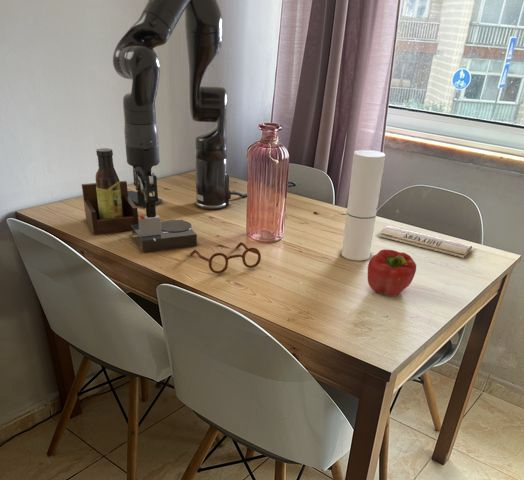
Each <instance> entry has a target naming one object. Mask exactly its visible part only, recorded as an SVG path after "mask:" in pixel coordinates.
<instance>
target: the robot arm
mask: <svg viewBox="0 0 524 480" xmlns="http://www.w3.org/2000/svg"><path fill="white" fill-rule="evenodd" d="M183 13H184V29H185V30H184V31H185V32H184V33H185V42H186V53H187V66H188V67H187V68H188V111H189V116H190V119H191V120H192V121H194V122H197V123H215V126H213V127H212V128H211V129H209V130H207V131H205V132H203V133H200V134H197V135H196V137H195V138H194V157H195V158H194V159H195V160H194V161H195V162H194V163H195V205H196V206H197V208H201V209H204V210H220V209H224V208H226V207H230V200H231V199H232V195H234V196H238V197H241V198H247V197H248V196H247V193H241V192H238V191H231V190H230V175H229V174H228V173H227V172H228V170H227V169H228V168H227V162H228V156H227V155H228V153H227V152H228V151H227V150H228V138H227V137H228V136H227V133H228V132H227V131H228V130H227V129H228V112H229V111H228V110H229V95H228V92H227V89H226V88H225V87H224V86H210V85H202V81H203V78H204V77H205V74H206V73H207V71H208V69H209V68H210V67H211V65H212V63H213V62H214V60H215V59H216V58H217V56H218V55H219V53H220V51H221V49H222V46H223V41H224V39H223V36H224V35H223V33H224V31H223V25H224V23H223V13H222V10H221V7H220V4H219V2H218V0H148V1H147V3H146V4H145V6H144V8H143V9H142V12H141V14H140V16H139V18H138V20H137V21H135V23H133V25H131V27H130V28H129V29H128V30H127V31H126V32H125V34H124V35H123V36H122V37H121V38H120V40H119V41H118V43H116V46H115V47H114V51H113V55H112V65H113V68H114V71H115V73H116V74H118V76H120V77H121V78H123V79H126V80H131V81H132V82H131V83H132V84H131V90H130V91H129V92H127V93H125V94H124V95H123V98H122V109H123V120H124V128H123V129H124V131H123V133H124V144H125V155H126V156H125V157H126V163H127V165H129V166H131V167H132V175H133V176H132V177H133V186H134V187H135V190H136V191H135V192H137V196H138V205H137V206H139V207H144V206H146V207H145V216H147V217H148V218H152V217H156V215H157V207H156V205H157V204H156V205H155V202H157V201H158V198H159V194H158V193H159V191H158V183H157V182H158V181H157V180H158V177H157V175H156V174H155V172H153V169H152V168H153V167H156V166H158V165H159V164H160V163H161V162H160V161H161V160H160V144H159V132H158V126H157V115H156V113H157V112H156V98H157V95H158V88H159V83H160V75H161V65H160V60H159V56H158V55H157V53H156V51H155V50H154V49H155V48H158V47H161V46H163V45H165V44H166V43H167V42H168V40H169V39H170V37H171V36H172V33H173V32H174V30H175V28H176V27H177V24H178V23H179V20H180V19H181V17H182V15H183ZM287 181H288V184H287V185H293V186H295V187H297V183H296V182H295V181H293V180H287ZM150 194H151V196H152V197H149V196H150Z"/></svg>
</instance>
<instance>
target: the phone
mask: <svg viewBox="0 0 524 480" xmlns="http://www.w3.org/2000/svg"><path fill="white" fill-rule="evenodd" d="M127 191H128V197H129V198H130V199H131V201H132V202H133V203H134V204H135V205H136V206H139V205H138V196H137V191H134V190H127ZM149 197H153V196H152V195H149ZM162 203H163V199H162V198H159V197H158V201H157V202H155V205H159V204H162ZM143 208H146V206H143Z"/></svg>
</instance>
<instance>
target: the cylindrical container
mask: <svg viewBox="0 0 524 480" xmlns="http://www.w3.org/2000/svg"><path fill="white" fill-rule="evenodd" d="M385 159H386V153H385V152H382V151H379V150H373V149H358V150H354V152H353V158H352V166H351V175H350V183H349V191H348V198H347V207H346V213H345V214H346V215H345V223H344V231H343V232H344V233H343V238H342V246H341V256H342V257H343V258H345V259H347V260H349V261H350V260H351V261H366V260H369V259H370V258H371V250H372V244H373V238H374V237H373V236H374V232H375V231H374V230H375V224H376V218H377V212H378V205H379V199H380V192H381V187H382V179H383V172H384V166H385Z"/></svg>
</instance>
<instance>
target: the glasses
mask: <svg viewBox="0 0 524 480" xmlns="http://www.w3.org/2000/svg"><path fill="white" fill-rule="evenodd" d="M241 246H242V247H243V248H244V249H245V250H244V251H243V252H242V254H240V253H238V254H232V255H229V256H227V255H226V254H225V253H223V252H215V253H213V254H211V256H210V257H209V258H208V257H206V256H204V255H202V254H201V253H200V252H199V251H198V250H197V249H194V250H193V251H191V252H190V253H189V256H190V257H192V256H193V255H195V254H196V255H197V256H198V258H199V259H201V260H204V261H206V262H207V263H208V267H209V270H210V271H211V272H212V273H214V274H217V275H218V274H219V275H220V274H223V273H224V272H226V270H227V269H228V266H229V260H231V259H236V258H241V259H242V264H243V266H244V267H245V268H248V269H254V268H256V267H257V266H258V265H259V264H260V262H261V259H262V255H261V251H260V250H259V249H258V248H256V247H248V246H247V245H246V244H245V243H244V242H242V241H240V242H239V243H238V244H237V245H236V246H235V250H238V249H239V248H240V247H241ZM248 252H250V253H253V254H255V255H257V261H256V262H255V263H254V264H252V265H250V264H248V263H247V262H246V255H247V254H248ZM218 256H221V257H223V258H224V261H225V263H224V267H223V268H222V269H221V270H215V269H214V268H213V265H212V262H213V260H214V259H215V258H216V257H218Z"/></svg>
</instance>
